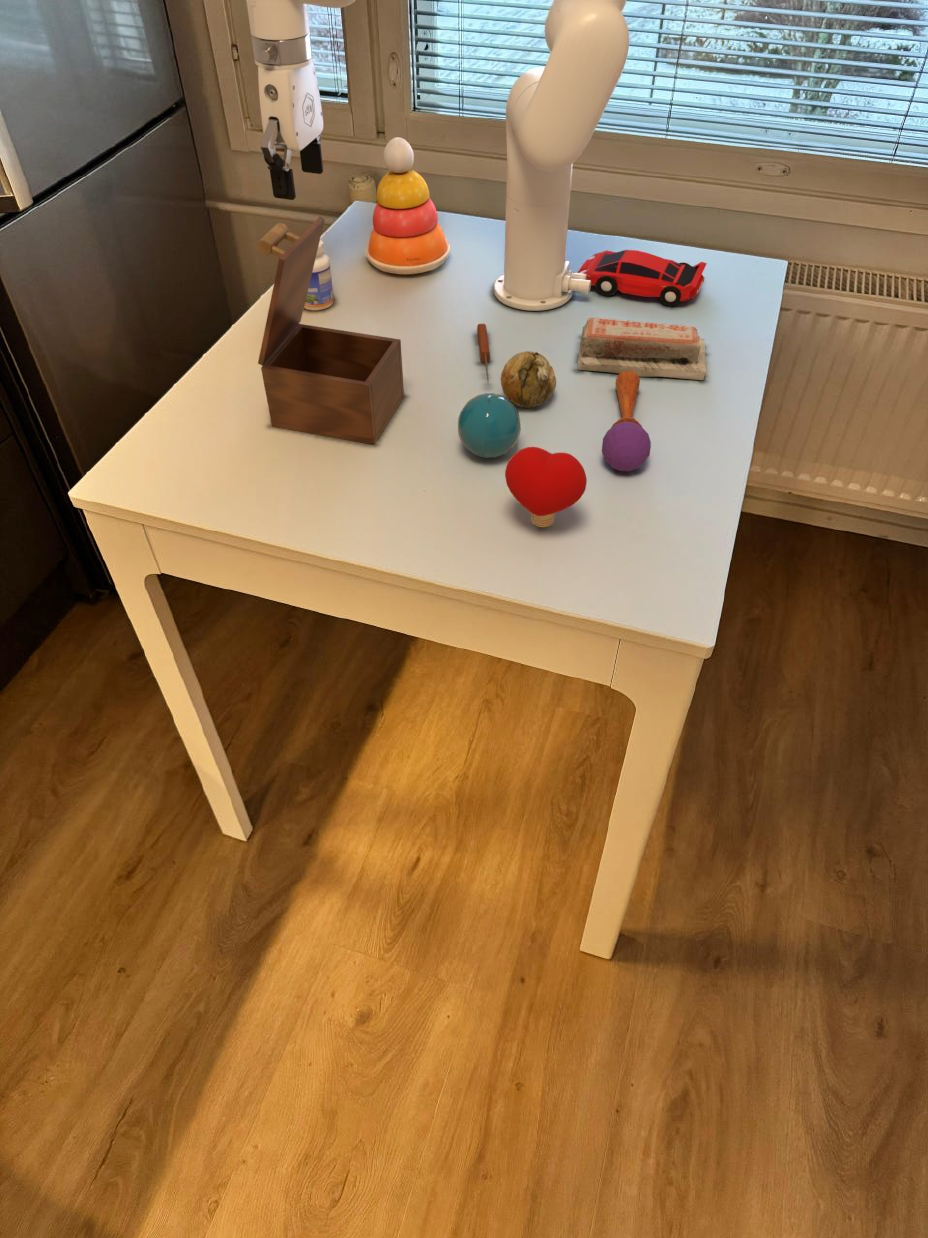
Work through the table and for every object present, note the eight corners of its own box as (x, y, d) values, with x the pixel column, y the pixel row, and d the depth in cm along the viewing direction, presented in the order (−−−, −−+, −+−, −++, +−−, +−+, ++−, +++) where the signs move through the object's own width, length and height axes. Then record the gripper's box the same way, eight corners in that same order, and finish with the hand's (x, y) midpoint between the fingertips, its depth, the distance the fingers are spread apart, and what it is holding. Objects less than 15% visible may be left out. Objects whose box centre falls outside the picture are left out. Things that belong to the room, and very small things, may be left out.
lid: (325, 218, 111) (290, 200, 111) (284, 260, 103) (246, 240, 103) (300, 321, 122) (268, 305, 122) (262, 366, 115) (228, 349, 115)
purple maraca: (655, 367, 123) (657, 444, 109) (641, 405, 128) (641, 485, 113) (613, 356, 123) (609, 432, 109) (600, 395, 127) (595, 473, 113)
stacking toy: (448, 241, 160) (446, 120, 146) (452, 279, 150) (450, 153, 136) (367, 243, 159) (357, 122, 145) (365, 281, 149) (354, 156, 135)
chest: (404, 397, 126) (400, 339, 120) (374, 444, 119) (368, 385, 112) (307, 380, 129) (298, 323, 123) (271, 426, 122) (260, 367, 115)
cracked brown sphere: (566, 392, 127) (570, 340, 121) (541, 422, 122) (545, 369, 116) (516, 379, 129) (519, 327, 123) (491, 407, 124) (492, 354, 118)
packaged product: (579, 341, 127) (584, 306, 133) (576, 372, 130) (581, 336, 137) (711, 351, 125) (709, 315, 131) (704, 382, 128) (703, 346, 135)
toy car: (584, 265, 153) (587, 235, 149) (704, 282, 149) (710, 251, 145) (569, 293, 146) (572, 263, 142) (695, 312, 142) (701, 281, 138)
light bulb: (587, 515, 109) (596, 445, 101) (573, 552, 104) (580, 482, 97) (512, 499, 111) (515, 430, 103) (495, 535, 106) (497, 465, 99)
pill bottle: (292, 305, 144) (283, 245, 137) (314, 291, 147) (306, 231, 140) (320, 314, 142) (312, 253, 135) (341, 300, 145) (334, 239, 138)
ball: (523, 436, 120) (526, 383, 114) (515, 474, 114) (517, 419, 108) (463, 431, 120) (462, 377, 115) (452, 467, 115) (451, 413, 109)
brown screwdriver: (476, 333, 138) (477, 320, 136) (485, 332, 138) (486, 320, 137) (483, 390, 127) (483, 377, 126) (493, 390, 127) (493, 377, 126)
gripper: (280, 71, 112) (298, 212, 125) (334, 33, 123) (346, 165, 136) (225, 65, 114) (248, 205, 126) (283, 28, 125) (299, 160, 137)
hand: (299, 184), depth 131 cm, fingers open, 9 cm apart
